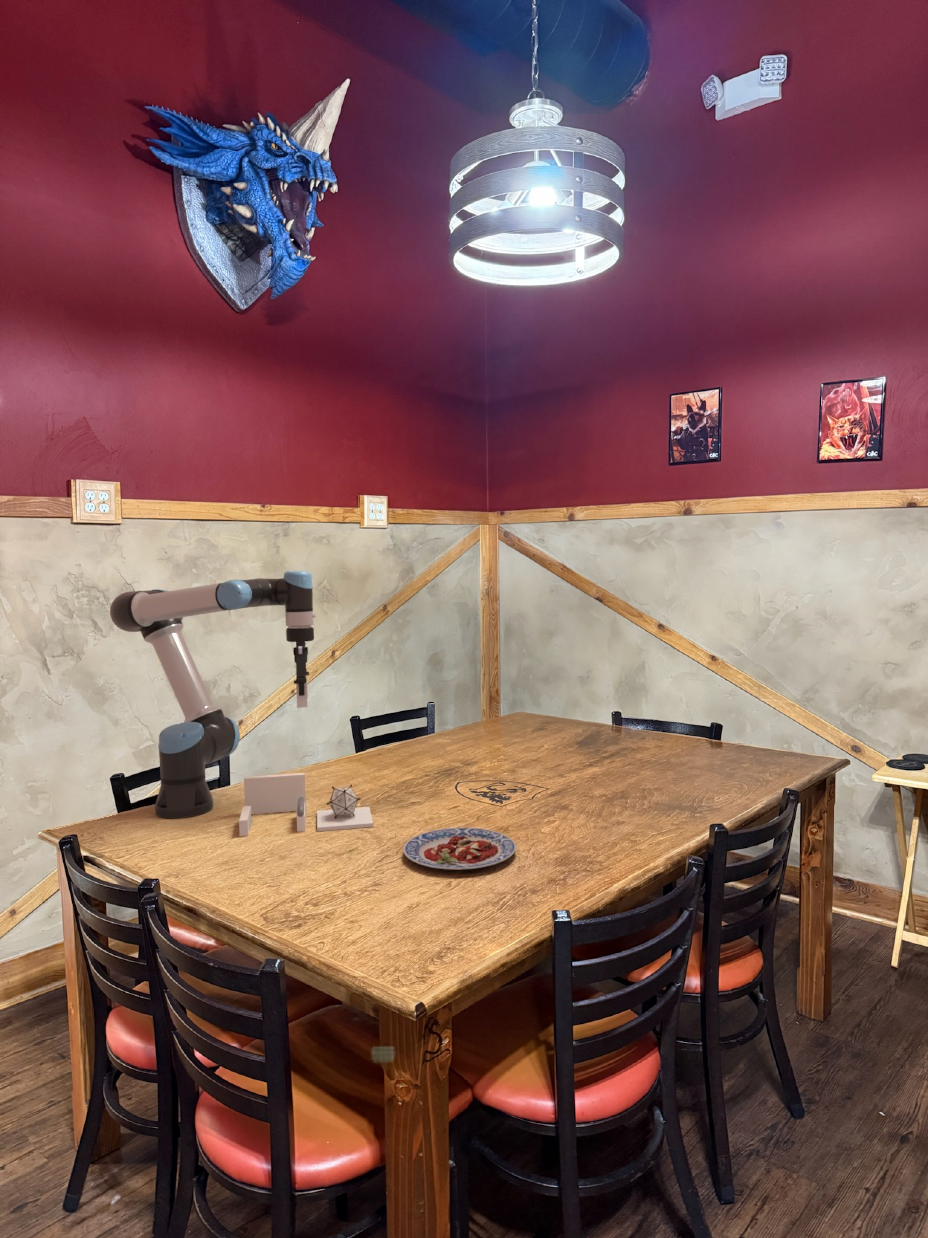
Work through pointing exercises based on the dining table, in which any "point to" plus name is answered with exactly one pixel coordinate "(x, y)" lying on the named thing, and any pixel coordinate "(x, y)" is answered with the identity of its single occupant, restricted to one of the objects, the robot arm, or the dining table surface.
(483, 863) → the ceramic plate
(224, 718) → the robot arm
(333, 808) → the game die
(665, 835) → the dining table surface
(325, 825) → the mat
